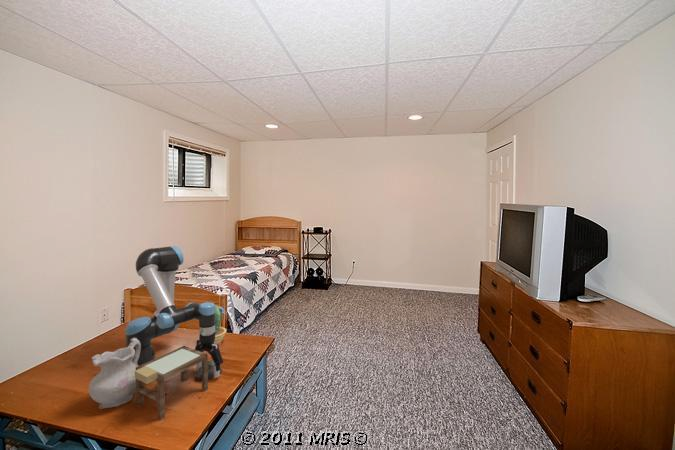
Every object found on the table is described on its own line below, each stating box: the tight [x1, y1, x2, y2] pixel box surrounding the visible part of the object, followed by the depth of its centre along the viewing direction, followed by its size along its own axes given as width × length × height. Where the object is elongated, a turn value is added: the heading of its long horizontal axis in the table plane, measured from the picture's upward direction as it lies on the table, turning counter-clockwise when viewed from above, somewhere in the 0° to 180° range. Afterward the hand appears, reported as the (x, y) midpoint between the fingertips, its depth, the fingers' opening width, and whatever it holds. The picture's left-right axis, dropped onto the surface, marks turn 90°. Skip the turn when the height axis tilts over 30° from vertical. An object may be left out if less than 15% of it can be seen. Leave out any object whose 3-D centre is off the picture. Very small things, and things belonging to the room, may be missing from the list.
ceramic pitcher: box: [88, 337, 141, 410], centre depth 129 cm, size 22×20×25 cm
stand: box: [135, 345, 209, 421], centre depth 130 cm, size 18×23×18 cm
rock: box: [194, 359, 223, 380], centre depth 149 cm, size 13×9×6 cm, turn 145°
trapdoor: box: [135, 349, 201, 385], centre depth 128 cm, size 13×23×3 cm, turn 153°
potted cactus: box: [214, 304, 227, 346], centre depth 181 cm, size 15×15×25 cm
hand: (207, 372), depth 148 cm, fingers open, 13 cm apart
